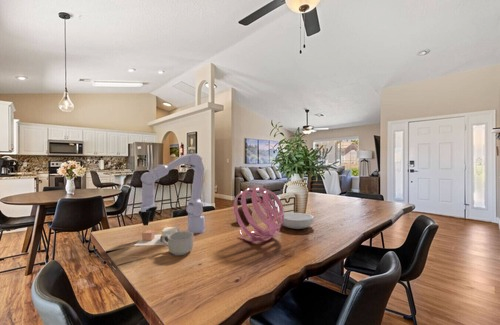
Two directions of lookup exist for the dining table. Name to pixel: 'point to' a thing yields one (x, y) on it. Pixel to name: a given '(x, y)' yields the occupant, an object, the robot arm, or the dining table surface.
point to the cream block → (169, 230)
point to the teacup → (179, 242)
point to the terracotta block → (148, 235)
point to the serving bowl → (297, 220)
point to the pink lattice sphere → (260, 214)
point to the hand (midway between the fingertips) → (148, 223)
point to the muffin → (244, 215)
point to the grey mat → (154, 242)
